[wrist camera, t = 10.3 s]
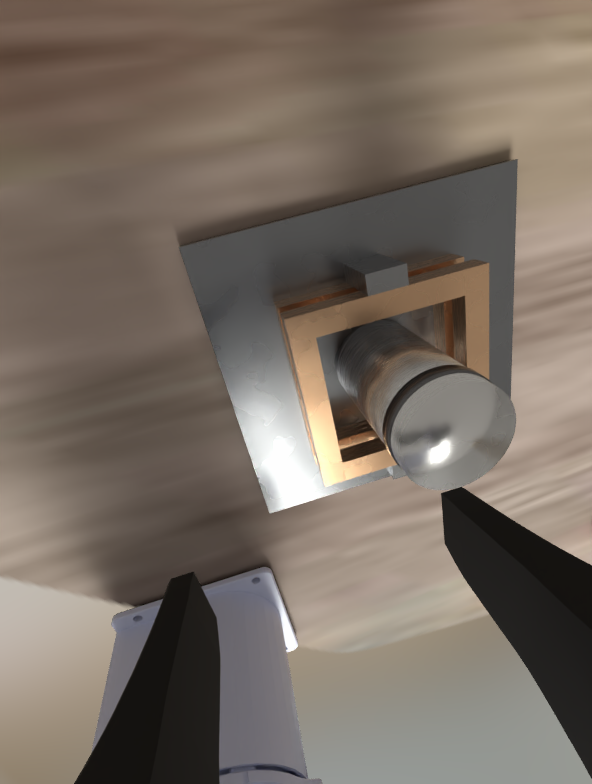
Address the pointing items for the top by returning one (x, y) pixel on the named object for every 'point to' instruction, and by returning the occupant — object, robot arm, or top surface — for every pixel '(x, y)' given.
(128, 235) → the top surface
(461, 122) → the top surface
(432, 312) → the collar stand
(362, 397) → the metal cylinder
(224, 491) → the top surface
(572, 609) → the robot arm
